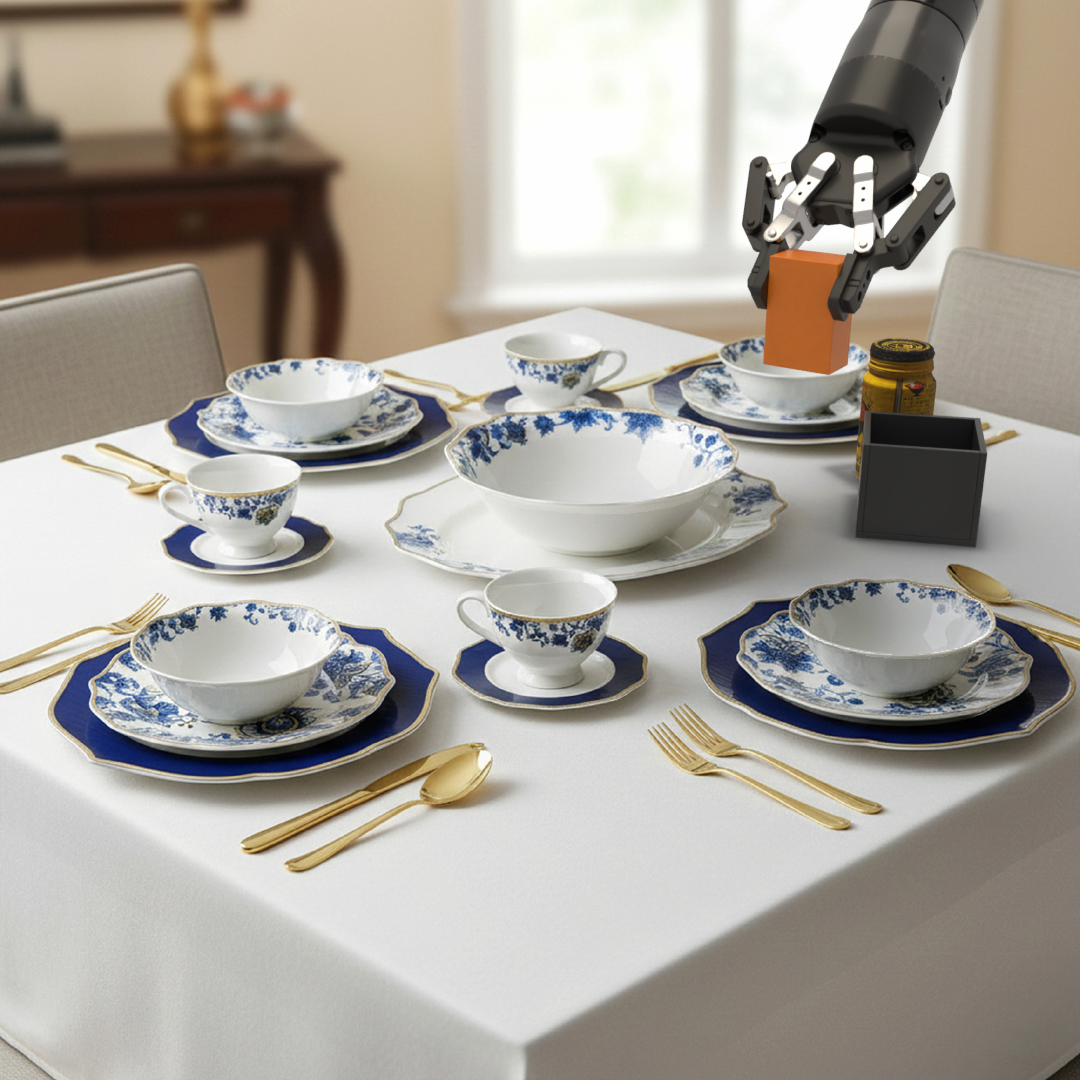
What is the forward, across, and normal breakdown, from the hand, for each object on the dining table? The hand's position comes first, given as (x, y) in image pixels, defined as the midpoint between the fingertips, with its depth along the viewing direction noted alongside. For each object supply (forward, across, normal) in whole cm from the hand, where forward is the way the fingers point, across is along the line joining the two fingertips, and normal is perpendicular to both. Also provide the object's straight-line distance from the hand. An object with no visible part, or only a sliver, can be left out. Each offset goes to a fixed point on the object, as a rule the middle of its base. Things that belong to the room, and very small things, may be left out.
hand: (797, 306), depth 91 cm
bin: (-1, +1, +32) cm, 32 cm away
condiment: (-7, -4, +38) cm, 39 cm away
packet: (+2, 0, +4) cm, 5 cm away
